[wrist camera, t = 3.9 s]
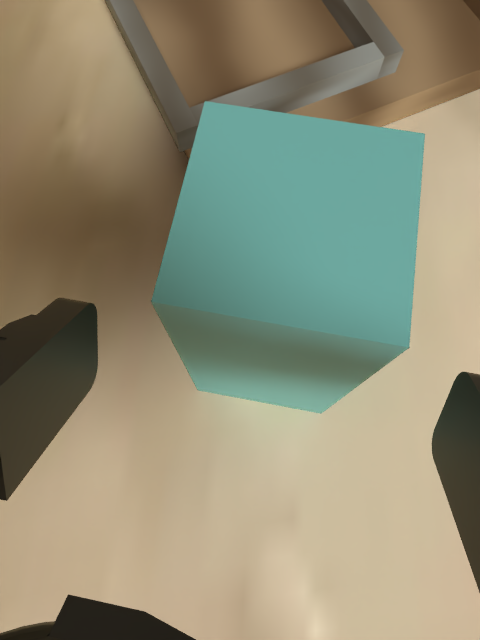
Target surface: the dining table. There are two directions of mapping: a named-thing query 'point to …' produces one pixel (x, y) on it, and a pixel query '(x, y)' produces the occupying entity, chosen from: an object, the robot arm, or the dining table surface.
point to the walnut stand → (301, 56)
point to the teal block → (291, 255)
